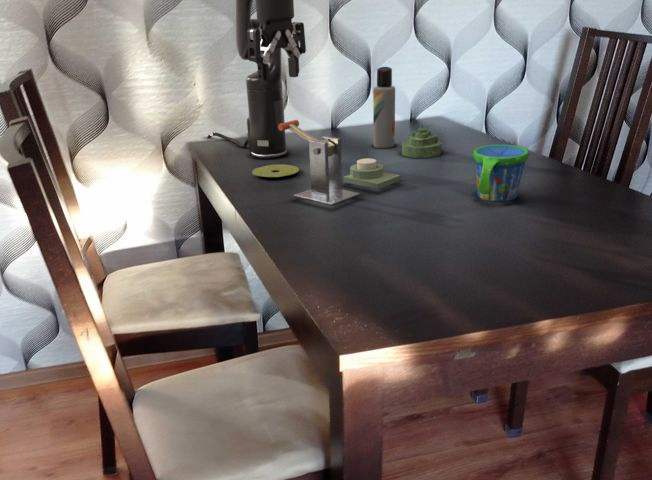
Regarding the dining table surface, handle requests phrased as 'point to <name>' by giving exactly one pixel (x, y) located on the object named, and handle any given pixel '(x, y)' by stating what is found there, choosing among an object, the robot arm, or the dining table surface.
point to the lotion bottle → (384, 109)
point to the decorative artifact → (421, 144)
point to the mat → (275, 170)
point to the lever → (303, 134)
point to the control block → (371, 177)
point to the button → (366, 164)
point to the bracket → (326, 174)
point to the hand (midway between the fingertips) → (279, 80)
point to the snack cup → (499, 171)
